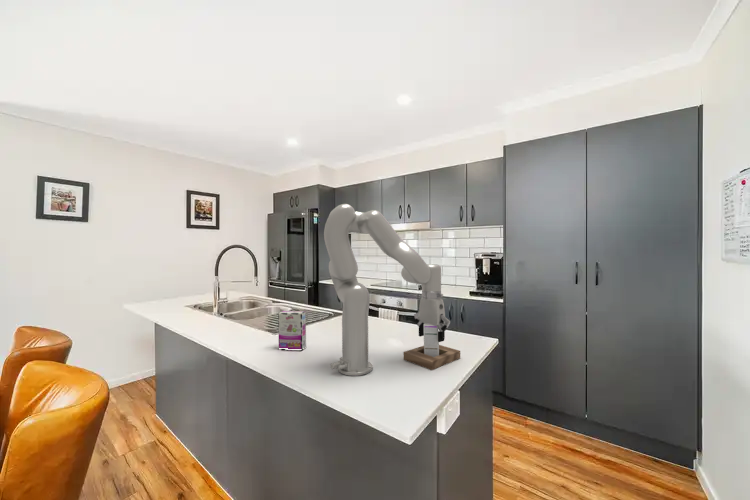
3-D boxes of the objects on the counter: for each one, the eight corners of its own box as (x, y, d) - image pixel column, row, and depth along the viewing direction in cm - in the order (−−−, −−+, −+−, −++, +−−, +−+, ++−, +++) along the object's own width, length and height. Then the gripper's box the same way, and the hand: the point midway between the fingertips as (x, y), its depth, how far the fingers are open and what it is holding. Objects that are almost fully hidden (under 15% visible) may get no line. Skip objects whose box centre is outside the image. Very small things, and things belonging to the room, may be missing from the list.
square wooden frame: (431, 370, 107) (431, 361, 107) (403, 359, 118) (403, 352, 118) (460, 358, 119) (460, 350, 119) (432, 349, 129) (432, 342, 129)
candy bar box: (306, 347, 133) (306, 311, 133) (302, 351, 128) (301, 313, 128) (283, 346, 135) (283, 310, 135) (277, 350, 130) (277, 312, 130)
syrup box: (439, 362, 115) (438, 324, 115) (423, 361, 116) (423, 323, 116) (439, 357, 120) (438, 321, 120) (424, 356, 122) (424, 320, 122)
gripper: (455, 297, 114) (455, 341, 114) (420, 292, 127) (420, 332, 127) (443, 298, 109) (443, 345, 109) (408, 293, 122) (408, 335, 122)
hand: (431, 338), depth 118 cm, fingers open, 9 cm apart
